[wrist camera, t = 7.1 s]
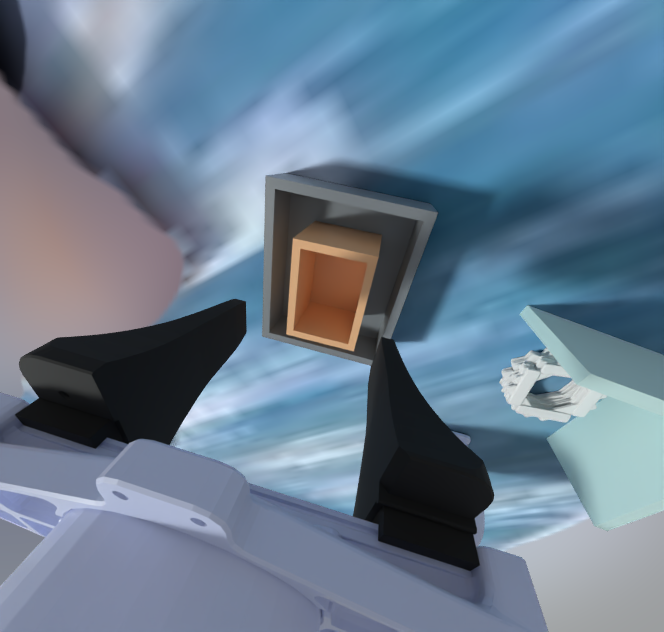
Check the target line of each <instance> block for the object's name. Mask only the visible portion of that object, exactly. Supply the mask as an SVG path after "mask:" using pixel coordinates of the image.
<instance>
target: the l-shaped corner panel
mask: <svg viewBox="0 0 664 632" xmlns="http://www.w3.org/2000/svg"><path fill="white" fill-rule="evenodd" d="M520 315H521V317H522V318H523V319H524V320H525V322H526V323H527V324H528V325H529V327H530V328H531V329H532V330H533V331H534V333H535V334H536V335H537V336H538V338H539V339H540V340H541V341H542V343H543V344H544V345H545V346H546V347H547V348H546V349H544V350H543V351H542V352H541V353H538V352H535V351H529V352H528V353H527V354H526V355H525V356H523V357H518V358H514V359H511V365H512V367H508V368H505V369H503V370H502V376H503V378H502V379H501V380H500V382H499V383H500V384H501V385H502V386H503V388H502V392H504V393H505V394H504V397H506V401H508V403H509V404H511V408H512V410H516V412H517V413H519V414H523V415H524V416H525V417H530V416H534V417H538V418H539V419H540V420H541V421H545V420H554V421H560V422H567V421H568V420H569V419H570V417H571V415H574V416H578V417H576V418H575V419H573V420H572V421H571V422H569V423H568V424H566V425H565V426H563V427H562V428H561V429H559V430H558V431H556V432H555V433H553V434H552V435H551V436H549V437H548V438H546V439H547V440H548V442H549V444H550V446H551V448H552V450H553V451H554V453H555V455H556V457H557V459H558V461H559V462H560V464H561V466H562V468H563V470H564V472H565V473H566V475H567V477H568V479H569V481H570V482H571V484H572V486H573V488H574V490H575V492H576V493H577V495H578V497H579V499H580V501H581V503H582V504H583V506H584V508H585V510H586V512H587V513H588V515H589V517H590V519H591V521H592V522H593V524H594V526H595V527H598V528H601V529H603V530H606V531H609V530H612V529H614V528H617V527H620V526H623V525H625V524H628V523H631V522H633V521H636V520H639V519H642V518H645V517H647V516H650V515H653V514H655V513H658V512H661V511H663V510H664V355H662V354H660V353H657V352H654V351H651V350H649V349H646V348H643V347H641V346H638V345H635V344H632V343H630V342H627V341H624V340H621V339H619V338H616V337H613V336H610V335H608V334H605V333H602V332H600V331H597V330H594V329H591V328H589V327H586V326H583V325H580V324H578V323H575V322H572V321H569V320H567V319H564V318H561V317H559V316H556V315H553V314H550V313H548V312H545V311H542V310H539V309H537V308H534V307H531V306H528V305H527V306H526V307H525V309H524V310H523V311H522V312H521V313H520ZM553 375H554V376H561V377H568V378H572V381H571V382H570V383H568V384H567V385H566V386H564V387H563V388H562V389H560V390H559V391H556V392H550V393H544V394H538V395H534V394H532V393H529V391H530V390H531V388H532V387H533V385H534V384H535V382H536V381H538V380H541V379H544V378H547V377H550V376H553ZM599 399H602V400H601V401H599ZM598 401H599V402H598ZM597 402H598V403H597Z"/></svg>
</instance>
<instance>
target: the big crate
mask: <svg viewBox="0 0 664 632" xmlns="http://www.w3.org/2000/svg"><path fill="white" fill-rule="evenodd" d="M437 214H438V212H437V211H436V210H435V208H434V207H433V206H432V205H431V204H430V203H425V202H420V201H416V200H411V199H406V198H401V197H397V196H392V195H387V194H383V193H378V192H373V191H369V190H364V189H359V188H354V187H350V186H345V185H340V184H336V183H331V182H326V181H322V180H317V179H312V178H307V177H303V176H298V175H293V174H289V173H283V174H275V175H267V176H266V183H265V231H264V278H263V325H262V336H263V337H266V338H270V339H274V340H277V341H281V342H285V343H289V344H292V345H296V346H300V347H303V348H307V349H311V350H315V351H318V352H322V353H326V354H329V355H333V356H337V357H341V358H344V359H348V360H352V361H355V362H359V363H363V364H367V365H370V366H371V365H372V362H373V359H374V356H375V354H376V351H377V348H378V345H379V342H380V339H381V337H384V338H388V339H391V337H392V334H393V331H394V329H395V326H396V323H397V321H398V318H399V315H400V313H401V310H402V308H403V305H404V302H405V300H406V297H407V294H408V292H409V289H410V286H411V284H412V281H413V278H414V276H415V273H416V270H417V268H418V265H419V262H420V260H421V257H422V254H423V252H424V249H425V246H426V244H427V241H428V238H429V236H430V233H431V230H432V228H433V225H434V222H435V220H436V217H437ZM314 221H319V222H323V223H328V224H333V225H338V226H342V227H347V228H352V229H357V230H361V231H366V232H371V233H376V234H380V235H382V238H381V245H380V252H379V258H378V261H377V265H376V269H375V273H374V277H373V280H372V284H371V288H370V292H369V296H368V299H367V303H366V307H365V311H364V315H363V318H362V322H361V326H360V330H359V334H358V337H357V341H356V345H355V349H354V351H350V350H346V349H342V348H338V347H334V346H330V345H326V344H322V343H318V342H315V341H311V340H307V339H303V338H299V337H295V336H291V335H287V334H286V331H287V317H288V302H289V288H290V273H291V258H292V244H293V238H294V237H295V236H296V235H298V234H299V233H300V232H302V231H303V230H304V229H305V228H307V227H308V226H309V225H310V224H312V223H313V222H314Z"/></svg>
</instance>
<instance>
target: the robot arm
mask: <svg viewBox="0 0 664 632" xmlns="http://www.w3.org/2000/svg"><path fill="white" fill-rule="evenodd" d="M245 334H246V301H242V300H238V299H232V300H229V301H226V302H224V303H221V304H218V305H216V306H213V307H210V308H208V309H205V310H203V311H200V312H197V313H194V314H191V315H188V316H185V317H182V318H179V319H176V320H173V321H169V322H166V323H162V324H158V325H154V326H149V327H144V328H139V329H134V330H129V331H122V332H116V333H108V334H99V335H90V336H77V337H76V336H75V337H60V338H56V339H54V340H52V341H50V342H48V343H47V344H45V345H43V346H41V347H39V348H37V349H35V350H34V351H32V352H30V353H28V354H26V355H24V356H22V357H21V358H20V362H19V367H20V370H21V372H22V374H23V376H24V377H25V378H26V380H27V381H28V383H29V384H30V386H31V387H32V388H33V390H34V391H35V393H36V394H37V395H38V397H39V399H37V400H36V401H34V402H33V403H31V404H29V403H28V402H26V401H25V400H22V399H20V398H17V397H14V396H10V395H8V394H4V393H1V392H0V518H1V519H4V520H6V521H8V522H11V523H13V524H15V525H18V526H20V527H22V528H25V529H27V530H29V531H32V532H34V533H36V534H39V535H41V536H44V537H45V538H44V540H42V542H41V543H40V544H39V545H38V546H37V547H36V548H35V549H34V550H33V551H32V552H31V554H30V555H29V556H28V557H27V558H26V559H25V560H24V561H23V562H22V563H21V564H20V565H19V567H18V568H17V569H16V570H15V571H14V572H13V573H12V574H11V575H10V576H9V577H8V578H7V579H6V581H5V582H4V583H3V584H2V585H1V586H0V632H548V629H547V626H546V623H545V619H544V617H543V613H542V610H541V608H540V605H539V601H538V598H537V595H536V592H535V589H534V586H533V583H532V580H531V577H530V574H529V571H528V568H527V565H526V562H525V560H524V559H523V558H522V557H519V556H516V555H513V554H509V553H506V552H503V551H500V550H497V549H494V548H490V547H486V546H478V545H479V544H480V542H481V540H482V537H483V533H484V510H485V509H486V508H488V506H489V505H490V504H491V503H492V501H493V499H494V492H493V489H492V486H491V482H490V479H489V475H488V473H487V470H486V468H485V465H484V462H483V460H482V459H480V458H479V457H478V456H477V455H476V454H475V453H474V452H473V451H472V450H471V449H469V447H468V444H469V443H470V442H471V439H470V437H469V436H468V435H464V434H461V433H457V432H454V431H451V430H450V429H449V428H448V427H447V426H446V425H445V423H444V422H443V421H442V420H441V419H440V418H439V417H438V415H437V414H436V413H435V412H434V411H433V409H432V408H431V407H430V405H429V404H428V403H427V402H426V400H425V399H424V397H423V396H422V394H421V393H420V392H419V390H418V388H417V387H416V385H415V383H414V382H413V380H412V378H411V376H410V375H409V373H408V371H407V369H406V367H405V365H404V363H403V361H402V358H401V356H400V354H399V351H398V349H397V347H396V344H395V342H394V340H392V339H388V338H384V337H381V339H380V342H379V345H378V348H377V351H376V354H375V356H374V359H373V362H372V365H371V370H370V376H369V382H368V401H367V426H366V436H365V443H364V450H363V457H362V464H361V470H360V477H359V483H358V489H357V496H356V502H355V507H354V513H353V516H350V515H347V514H344V513H341V512H337V511H334V510H331V509H328V508H325V507H322V506H319V505H316V504H312V503H309V502H306V501H303V500H300V499H297V498H294V497H291V496H288V495H284V494H281V493H278V492H275V491H272V490H269V489H266V488H263V487H260V486H256V485H253V484H250V483H248V482H247V480H246V478H245V476H244V475H242V474H241V473H240V472H239V471H238V470H236V469H235V468H234V467H231V466H229V465H227V464H225V463H223V462H220V461H217V460H214V459H211V458H208V457H205V456H202V455H198V454H195V453H192V452H189V451H186V450H183V449H179V448H176V447H173V446H170V445H169V444H170V443H171V441H172V439H173V437H174V436H175V434H176V432H177V431H178V429H179V427H180V425H181V424H182V422H183V420H184V419H185V417H186V415H187V414H188V412H189V411H190V409H191V408H192V406H193V404H194V403H195V401H196V400H197V398H198V397H199V395H200V394H201V392H202V391H203V389H204V388H205V386H206V385H207V384H208V382H209V381H210V380H211V379H212V377H213V376H214V375H215V374H216V373H217V371H218V370H219V369H220V368H221V367H222V365H223V364H224V363H225V362H226V361H227V360H228V358H229V357H230V356H231V355H232V353H233V352H234V351H235V350H236V349H237V347H238V346H239V344H240V343H241V341H242V339H243V338H244V336H245Z"/></svg>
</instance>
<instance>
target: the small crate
mask: <svg viewBox="0 0 664 632" xmlns="http://www.w3.org/2000/svg"><path fill="white" fill-rule="evenodd" d="M381 238H382V235H380V234H376V233H371V232H366V231H361V230H357V229H352V228H347V227H342V226H338V225H333V224H328V223H323V222H319V221H314V222H313V223H312V224H310V225H309V226H308V227H307V228H305V229H304V230H303V231H302V232H300V233H299V234H298V235H296V236H295V237H294V238H293V244H292V258H291V273H290V288H289V302H288V317H287V331H286V334H287V335H291V336H295V337H299V338H303V339H307V340H311V341H315V342H318V343H322V344H326V345H330V346H334V347H338V348H342V349H346V350H350V351H354V349H355V345H356V341H357V337H358V334H359V330H360V326H361V322H362V318H363V315H364V311H365V307H366V303H367V299H368V296H369V292H370V288H371V284H372V280H373V277H374V273H375V269H376V265H377V261H378V258H379V252H380V245H381Z"/></svg>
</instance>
